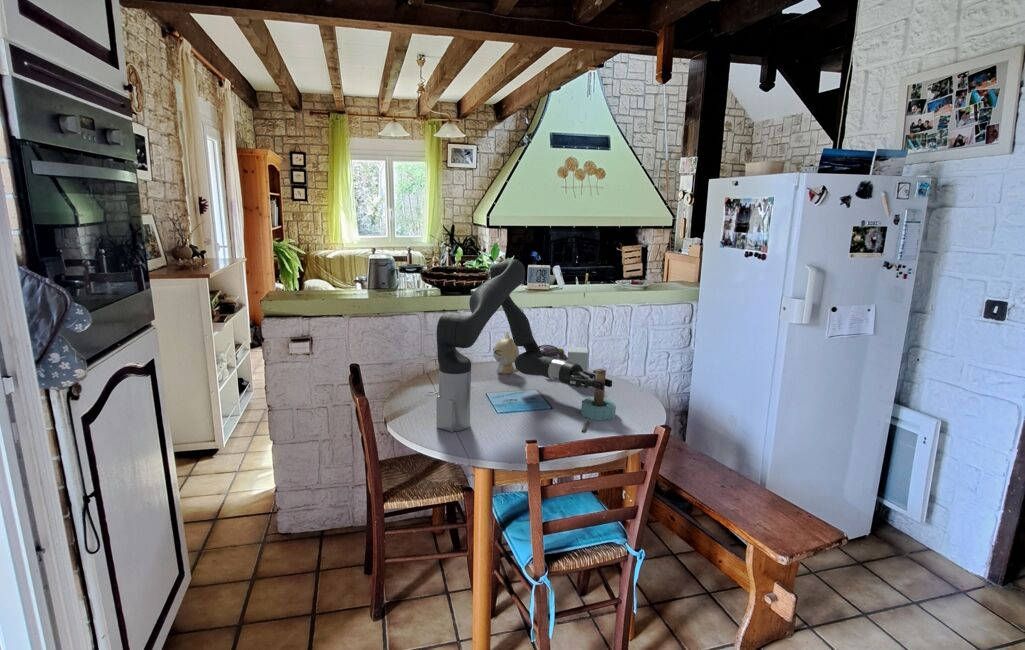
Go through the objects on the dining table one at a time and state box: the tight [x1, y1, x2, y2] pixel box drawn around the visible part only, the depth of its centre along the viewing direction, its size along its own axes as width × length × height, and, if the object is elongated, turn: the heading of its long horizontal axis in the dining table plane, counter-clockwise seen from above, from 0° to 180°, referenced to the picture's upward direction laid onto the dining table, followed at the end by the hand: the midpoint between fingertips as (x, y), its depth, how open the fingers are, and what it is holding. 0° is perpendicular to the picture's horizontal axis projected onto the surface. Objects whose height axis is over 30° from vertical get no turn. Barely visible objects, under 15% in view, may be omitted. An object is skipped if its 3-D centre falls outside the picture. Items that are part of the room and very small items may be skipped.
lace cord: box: [581, 419, 591, 433], centre depth 167 cm, size 8×1×1 cm, turn 160°
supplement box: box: [567, 346, 589, 371], centre depth 207 cm, size 7×7×13 cm
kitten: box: [492, 332, 520, 375], centre depth 216 cm, size 15×10×15 cm
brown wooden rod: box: [593, 368, 607, 407], centre depth 176 cm, size 3×3×14 cm
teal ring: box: [580, 397, 617, 421], centre depth 177 cm, size 10×10×4 cm
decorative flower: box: [538, 344, 568, 361], centre depth 219 cm, size 14×12×15 cm
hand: (607, 385), depth 174 cm, fingers open, 3 cm apart
